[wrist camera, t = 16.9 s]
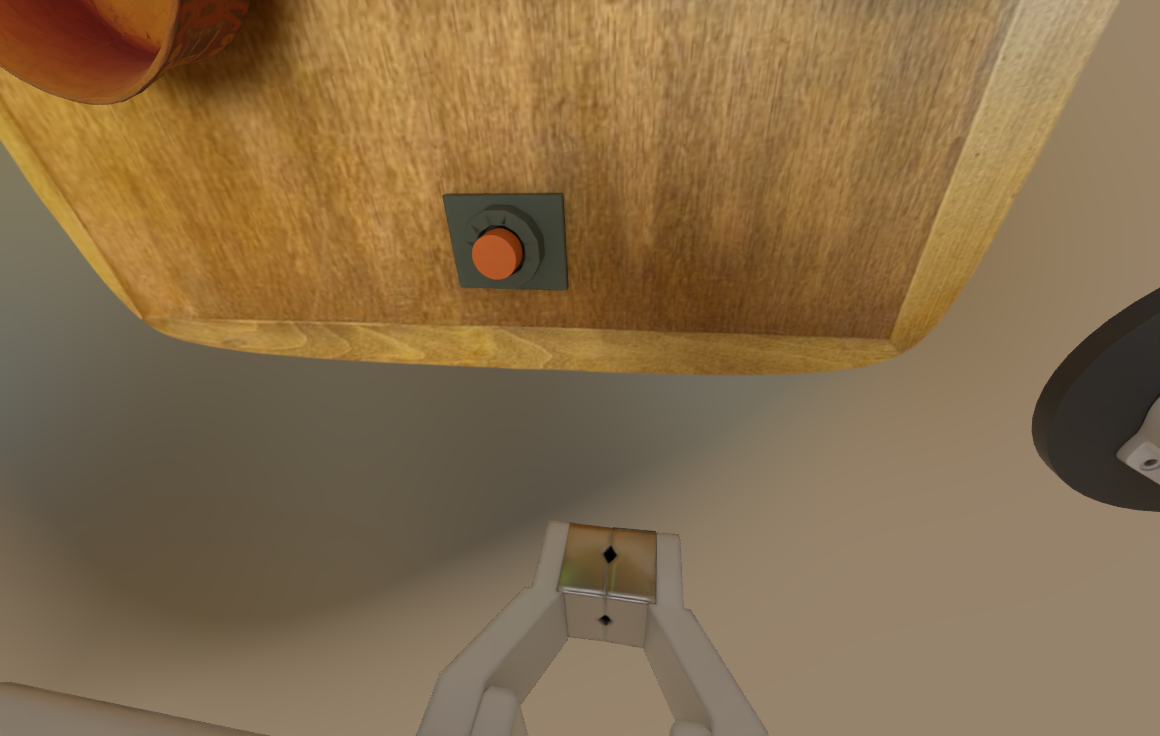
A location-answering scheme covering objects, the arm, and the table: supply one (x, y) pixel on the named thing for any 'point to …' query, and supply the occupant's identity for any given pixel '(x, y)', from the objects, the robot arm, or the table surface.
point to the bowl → (110, 42)
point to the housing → (528, 220)
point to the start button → (497, 253)
